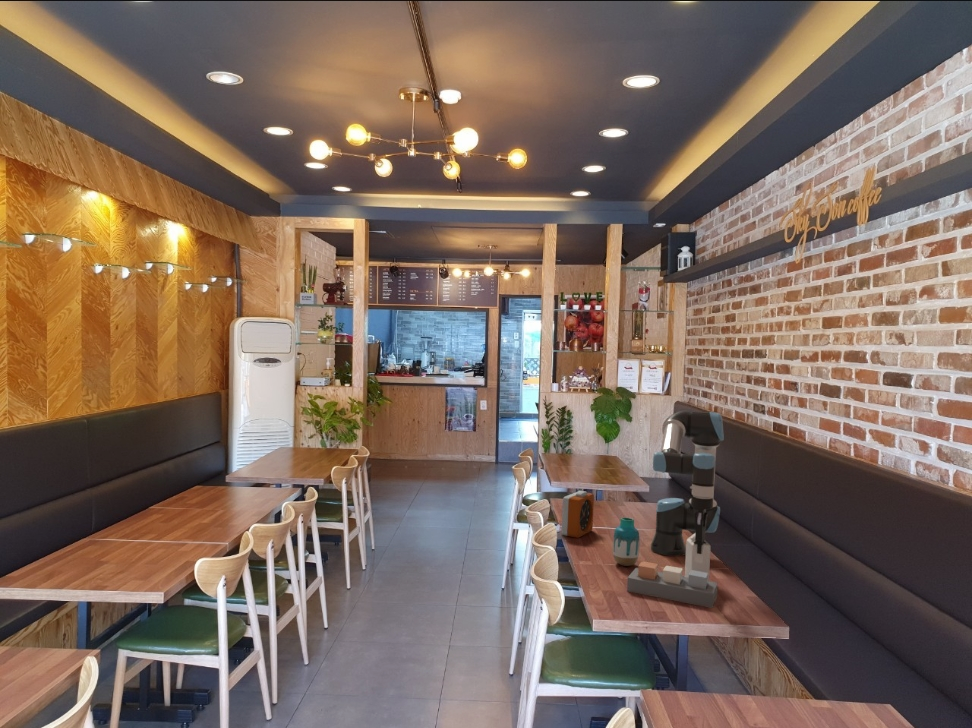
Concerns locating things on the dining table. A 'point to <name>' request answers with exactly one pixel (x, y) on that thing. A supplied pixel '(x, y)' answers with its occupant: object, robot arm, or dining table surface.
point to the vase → (626, 543)
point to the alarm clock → (577, 514)
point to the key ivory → (672, 574)
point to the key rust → (648, 570)
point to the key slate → (698, 579)
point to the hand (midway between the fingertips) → (699, 561)
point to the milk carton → (690, 557)
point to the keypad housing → (673, 589)
